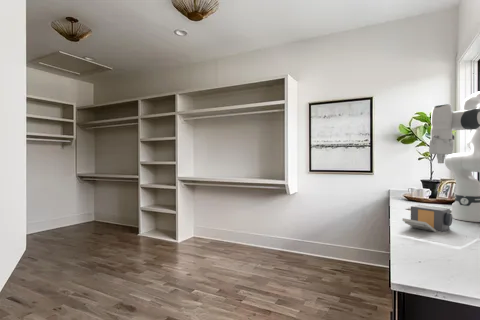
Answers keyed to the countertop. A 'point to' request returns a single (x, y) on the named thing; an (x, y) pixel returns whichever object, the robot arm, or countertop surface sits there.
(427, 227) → the camera door
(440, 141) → the robot arm
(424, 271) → the countertop surface
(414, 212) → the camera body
